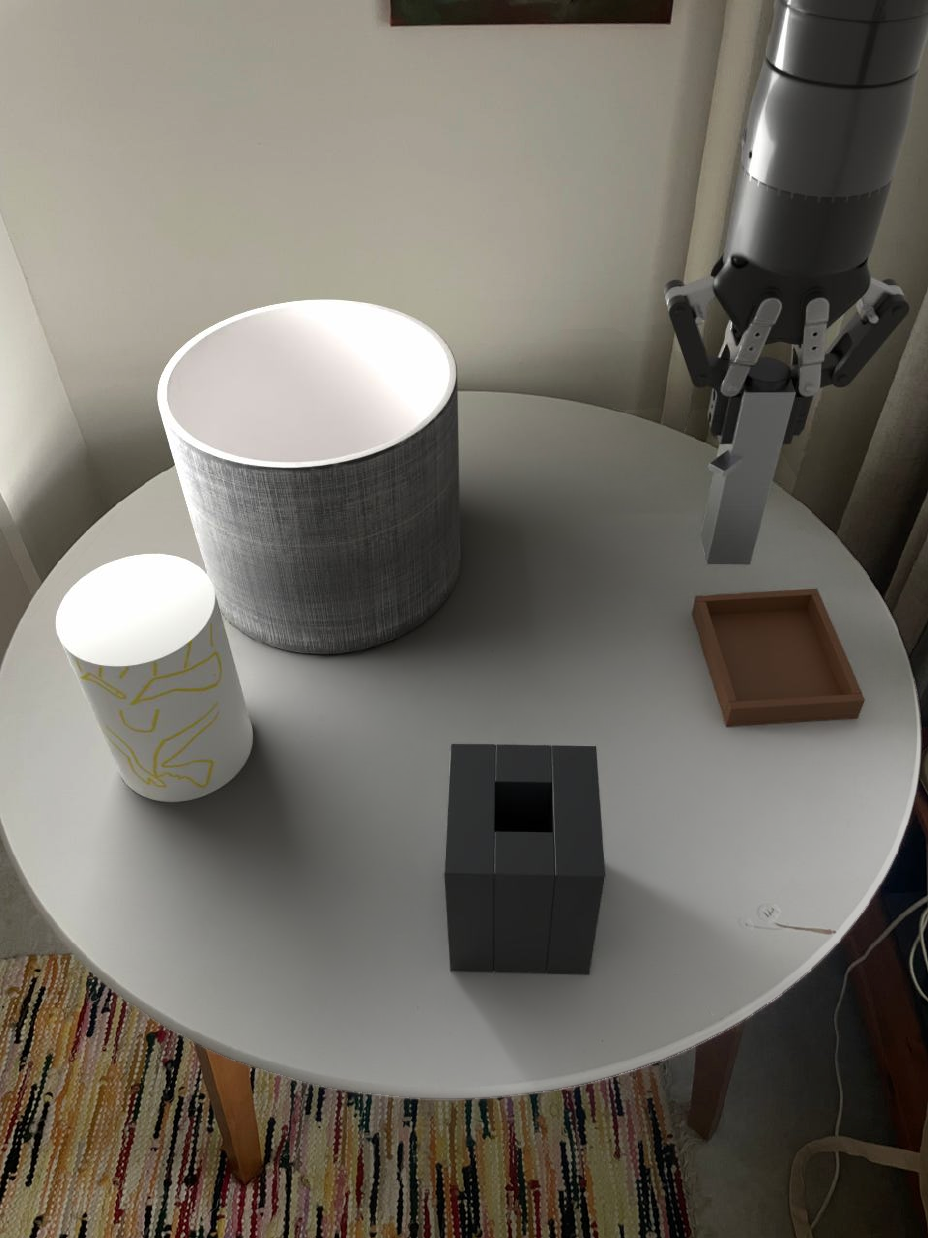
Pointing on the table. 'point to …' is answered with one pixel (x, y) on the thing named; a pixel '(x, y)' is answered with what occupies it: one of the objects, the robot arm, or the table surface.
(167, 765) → the white patterned cylinder
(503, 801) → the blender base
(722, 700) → the tray
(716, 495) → the grey square bar
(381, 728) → the table surface
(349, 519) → the planter
